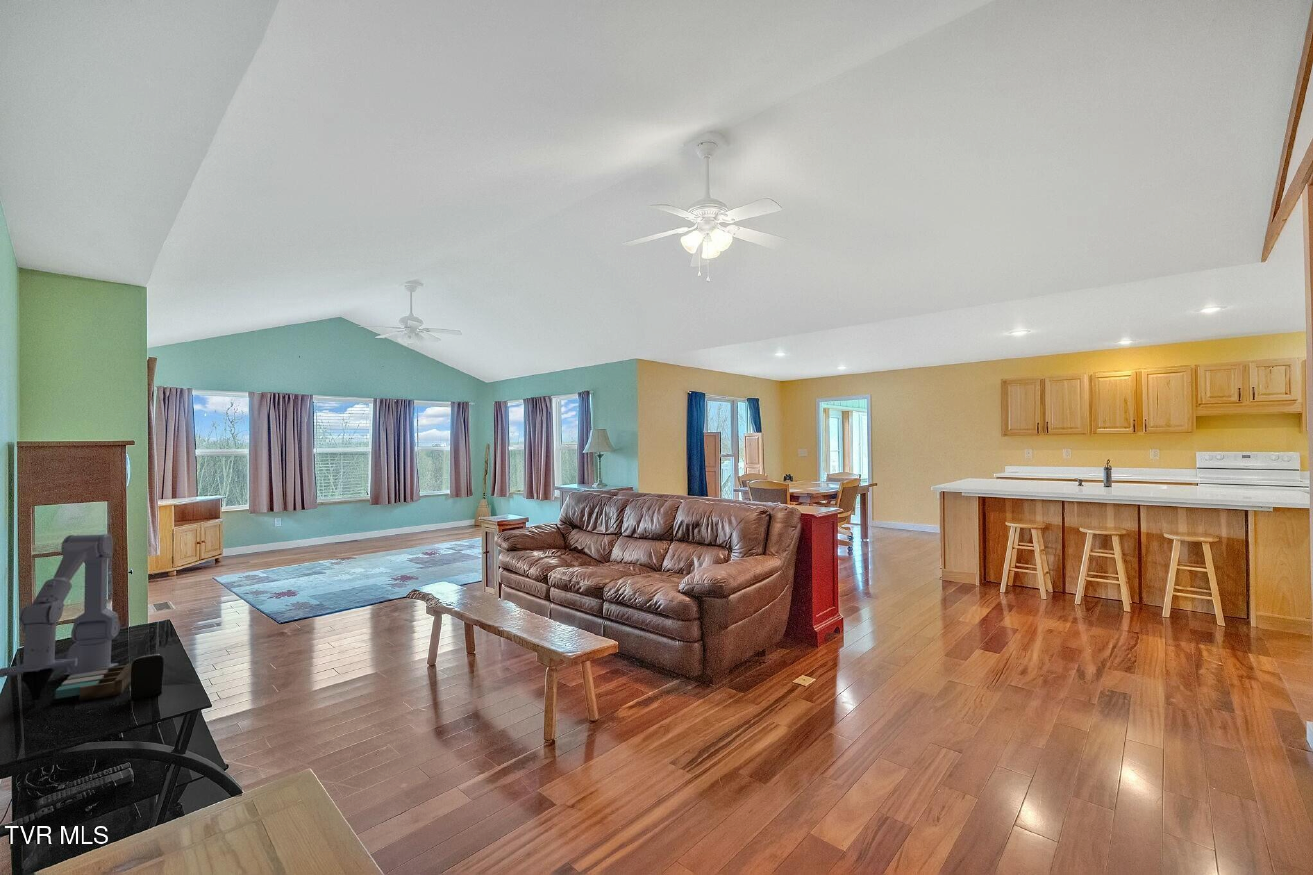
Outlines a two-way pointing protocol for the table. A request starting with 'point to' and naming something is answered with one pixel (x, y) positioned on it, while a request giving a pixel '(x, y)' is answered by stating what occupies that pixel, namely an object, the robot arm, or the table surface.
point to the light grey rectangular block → (86, 674)
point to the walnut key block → (107, 683)
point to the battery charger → (146, 676)
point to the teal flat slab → (72, 689)
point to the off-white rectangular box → (81, 680)
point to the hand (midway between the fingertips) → (37, 698)
